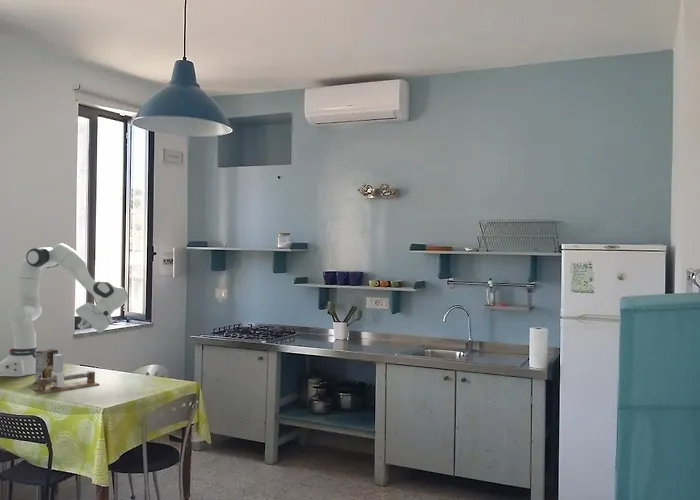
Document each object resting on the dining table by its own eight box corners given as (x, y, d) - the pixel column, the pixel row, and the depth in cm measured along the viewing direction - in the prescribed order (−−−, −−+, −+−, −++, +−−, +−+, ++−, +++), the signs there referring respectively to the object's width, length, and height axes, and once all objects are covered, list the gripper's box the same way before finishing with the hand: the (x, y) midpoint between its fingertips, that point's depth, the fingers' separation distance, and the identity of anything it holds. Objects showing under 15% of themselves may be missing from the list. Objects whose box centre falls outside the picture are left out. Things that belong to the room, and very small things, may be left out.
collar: (57, 384, 322) (58, 353, 322) (63, 386, 318) (64, 355, 317) (51, 385, 320) (52, 354, 320) (57, 387, 315) (58, 356, 315)
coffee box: (50, 378, 342) (51, 348, 342) (58, 380, 339) (58, 349, 338) (34, 381, 334) (35, 350, 334) (42, 383, 331) (42, 352, 331)
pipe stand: (88, 381, 337) (88, 369, 337) (99, 385, 329) (99, 372, 329) (33, 390, 316) (33, 376, 316) (43, 394, 308) (44, 380, 308)
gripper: (87, 297, 342) (65, 313, 335) (111, 317, 334) (89, 334, 327) (91, 304, 347) (69, 321, 340) (115, 324, 339) (93, 341, 331)
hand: (79, 327), depth 333 cm, fingers closed
